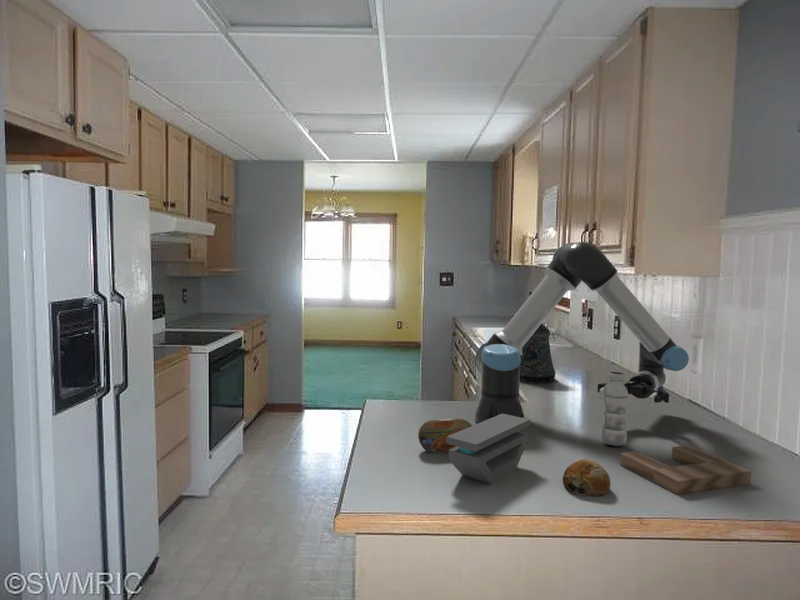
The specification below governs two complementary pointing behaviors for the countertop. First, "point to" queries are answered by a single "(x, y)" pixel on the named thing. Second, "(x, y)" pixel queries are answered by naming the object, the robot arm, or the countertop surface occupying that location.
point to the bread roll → (586, 478)
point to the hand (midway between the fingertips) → (624, 398)
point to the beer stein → (537, 358)
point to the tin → (440, 433)
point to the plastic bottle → (614, 410)
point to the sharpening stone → (489, 447)
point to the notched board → (687, 470)
